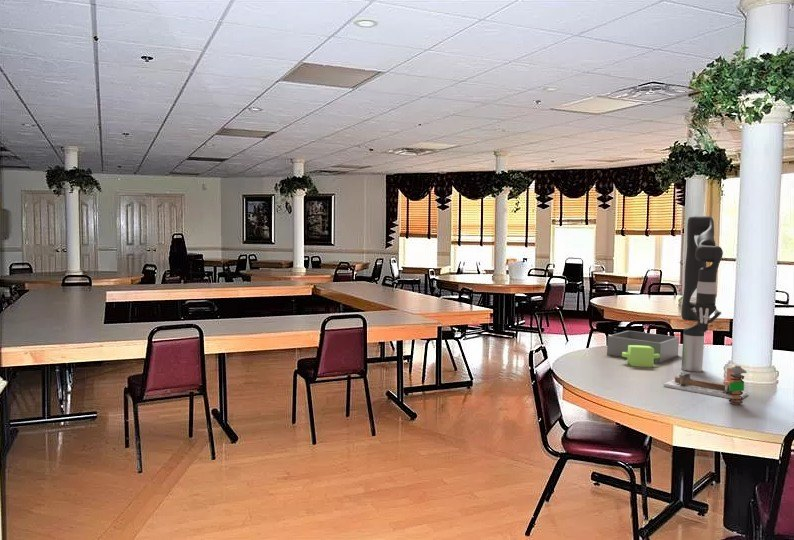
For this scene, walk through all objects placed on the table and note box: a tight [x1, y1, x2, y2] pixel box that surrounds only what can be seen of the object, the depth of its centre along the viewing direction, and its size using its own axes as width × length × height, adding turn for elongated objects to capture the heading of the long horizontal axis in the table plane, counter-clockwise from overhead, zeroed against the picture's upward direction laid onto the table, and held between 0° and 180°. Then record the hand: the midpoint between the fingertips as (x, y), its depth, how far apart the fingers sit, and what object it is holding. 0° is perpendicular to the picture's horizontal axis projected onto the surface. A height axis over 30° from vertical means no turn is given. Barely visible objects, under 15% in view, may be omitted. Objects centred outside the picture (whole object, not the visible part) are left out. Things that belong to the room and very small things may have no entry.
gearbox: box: [622, 345, 660, 368], centre depth 319 cm, size 18×10×10 cm, turn 84°
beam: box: [674, 371, 741, 393], centre depth 270 cm, size 8×26×4 cm, turn 48°
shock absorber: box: [728, 365, 748, 406], centre depth 250 cm, size 6×6×15 cm
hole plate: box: [663, 378, 749, 399], centre depth 270 cm, size 12×30×1 cm, turn 48°
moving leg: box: [723, 366, 734, 392], centre depth 264 cm, size 8×3×9 cm, turn 138°
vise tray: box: [606, 330, 680, 364], centre depth 344 cm, size 28×28×10 cm
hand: (703, 331), depth 275 cm, fingers closed
